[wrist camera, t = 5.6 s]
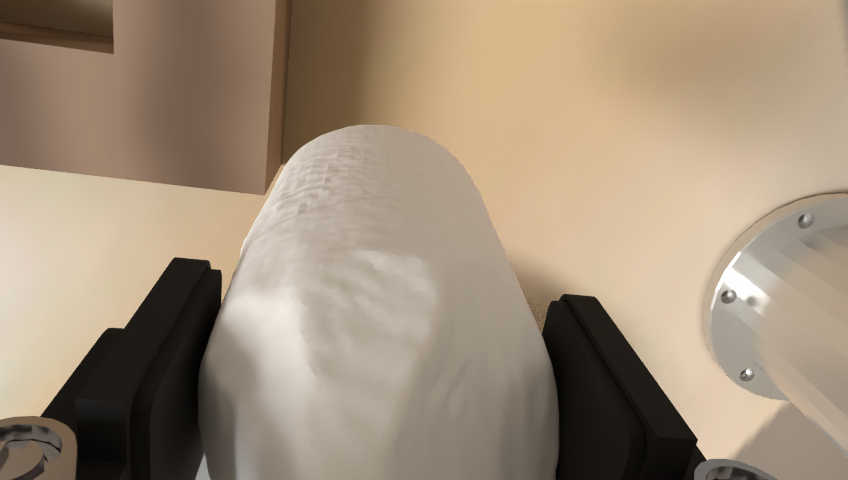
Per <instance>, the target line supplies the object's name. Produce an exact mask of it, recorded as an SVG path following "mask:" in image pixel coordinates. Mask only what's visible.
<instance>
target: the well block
mask: <svg viewBox="0 0 848 480" xmlns="http://www.w3.org/2000/svg"><path fill="white" fill-rule="evenodd" d="M112 1H113V37H114V38H113V37H106V36H99V35H92V34H85V33H77V32H70V31H63V30H56V29H49V28H42V27H34V26H27V25H20V24H13V23H6V22H0V165H8V166H17V167H25V168H34V169H42V170H51V171H60V172H68V173H77V174H85V175H94V176H103V177H111V178H120V179H128V180H137V181H146V182H154V183H163V184H171V185H180V186H189V187H197V188H206V189H214V190H223V191H232V192H240V193H249V194H257V195H265V194H266V192H267V190H268V188H269V186H270V184H271V183H272V181H273V179H274V177H275V175H276V173H277V172H278V170H279V168H280V166H281V160H282V145H283V130H284V115H285V100H286V85H287V70H288V55H289V40H290V25H291V10H292V0H112Z"/></svg>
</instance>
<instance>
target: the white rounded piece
mask: <svg viewBox="0 0 848 480" xmlns="http://www.w3.org/2000/svg"><path fill="white" fill-rule="evenodd" d="M197 394H198V425H199V428H200V432H201V439H202V443H203V449H204V453H205V457H206V462H207V468H208V474H209V477H210V480H556V468H557V465H558V460H559V446H560V439H559V429H560V425H559V408H558V394H557V387H556V381H555V377H554V372H553V368H552V363H551V360H550V358H549V355H548V352H547V349H546V346H545V343H544V340H543V337H542V334H541V332H540V329H539V327H538V325H537V323H536V320H535V318H534V316H533V314H532V312H531V309H530V307H529V305H528V303H527V300H526V298H525V296H524V294H523V292H522V289H521V287H520V285H519V282H518V280H517V277H516V275H515V272H514V270H513V268H512V266H511V263H510V261H509V259H508V257H507V254H506V252H505V250H504V248H503V246H502V244H501V242H500V240H499V238H498V235H497V233H496V230H495V228H494V226H493V224H492V222H491V220H490V218H489V215H488V212H487V209H486V207H485V205H484V203H483V200H482V198H481V195H480V193H479V190H478V189H477V188H476V186H475V185H474V183H473V181H472V179H471V177H470V175H469V174H468V172H467V171H466V169H465V168H464V167H463V166H462V165H461V164H460V162H459V161H458V160H457V158H456V157H455V156H453V155H452V154H451V153H450V152H449V151H448V150H447V149H446V148H444V147H443V146H441V145H440V144H438V143H437V142H436V141H434V140H432V139H430V138H428V137H426V136H424V135H421V134H419V133H417V132H414V131H411V130H408V129H403V128H400V127H396V126H391V125H366V124H363V125H355V126H349V127H345V128H342V129H338V130H335V131H332V132H329V133H326V134H323V135H321V136H319V137H317V138H315V139H314V140H312V141H310V142H308V143H307V144H305V145H304V146H302V147H301V148H300V149H299V150H298V151H297V152H296V153H295V154H294V155H293V156H292V157H291V158H290V160H289V161H288V162H287V164H286V165H285V167H284V169H283V171H282V173H281V174H280V176H279V178H278V180H277V181H276V184H275V186H274V188H273V190H272V192H271V194H270V196H269V198H268V199H267V201H266V203H265V204H264V206H263V208H262V210H261V211H260V213H259V215H258V217H257V218H256V220H255V222H254V224H253V226H252V228H251V229H250V231H249V233H248V235H247V237H246V238H245V240H244V242H243V246H242V248H241V252H240V257H239V260H238V263H237V266H236V269H235V271H234V273H233V277H232V280H231V283H230V286H229V288H228V290H227V293H226V295H225V297H224V300H223V302H222V305H221V308H220V310H219V313H218V315H217V318H216V320H215V324H214V327H213V329H212V332H211V334H210V337H209V340H208V344H207V347H206V350H205V352H204V355H203V358H202V361H201V364H200V370H199V378H198V390H197Z"/></svg>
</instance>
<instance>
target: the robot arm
mask: <svg viewBox="0 0 848 480" xmlns="http://www.w3.org/2000/svg"><path fill="white" fill-rule="evenodd" d="M221 290H222V274H221V270H215V269H211V266H210V262H209V261H208V260H198V259H187V258H176V257H175V258H174V259H173V260H172V261H171V262H170V264H169V265H168V267H167V268H166V270H165V271H164V272H163V274H162V275H161V277H160V278H159V280H158V281H157V282H156V284H155V285H154V287H153V288H152V290H151V291H150V292H149V294H148V295H147V297H146V298H145V300H144V301H143V302H142V304H141V305H140V307H139V308H138V310H137V311H136V313H135V314H134V315H133V317H132V318H131V320H130V321H129V323H128V324H127V325H126V327H125V328H124V329H122V328H108V329H107V330H106V331H105V332H104V333H103V334H102V335H101V336H100V338H99V339H98V340H97V342H96V343H95V344H94V346H93V347H92V348H91V350H90V351H89V352H88V354H87V355H86V356H85V358H84V359H83V360H82V362H81V363H80V364H79V366H78V367H77V368H76V370H75V371H74V372H73V374H72V375H71V376H70V378H69V379H68V380H67V382H66V383H65V384H64V386H63V387H62V388H61V390H60V391H59V392H58V394H57V395H56V396H55V398H54V399H53V400H52V402H51V403H50V404H49V406H48V407H47V408H46V410H45V411H44V412H43V414H42V415H41V416H40V417H37V416H25V417H11V418H6V419H2V420H0V480H195V479H196V476H197V473H198V470H199V467H200V464H201V461H202V459H203V456H204V449H203V443H202V439H201V432H200V428H199V425H198V394H197V390H198V378H199V370H200V364H201V361H202V358H203V355H204V352H205V350H206V347H207V344H208V340H209V337H210V334H211V332H212V329H213V327H214V324H215V320H216V318H217V315H218V313H219V310H220V308H221ZM702 330H703V334H704V338H705V342H706V345H707V348H708V350H709V352H710V353H711V355H712V357H713V359H714V361H715V362H716V363H717V364H718V365H719V367H720V368H721V369H722V370H723V371H724V373H725V374H726V375H727V376H728V377H729V378H730V379H731V380H732V381H734V382H735V383H736V384H737V385H738V386H740V387H742V388H744V389H746V390H748V391H749V392H751V393H753V394H756V395H759V396H763V397H766V398H770V399H776V400H787V401H791V402H792V403H793V404H794V405H795V406H796V407H797V408H798V409H799V410H800V411H801V412H802V413H804V415H806V417H807V418H808V419H809V420H810V421H811V422H812V423H813V424H814V425H815V426H816V427H817V428H818V429H819V430H820V431H821V432H822V433H823V434H824V435H825V436H826V437H827V438H828V439H829V440H830V441H831V442H832V443H833V444H834V445H835V446H836V447H837V448H838V449H839V450H840V451H841V452H842V453H843V454H844V455H845V456H846V457H847V458H848V194H845V193H839V194H824V195H818V196H814V197H810V198H806V199H801V200H798V201H796V202H793V203H791V204H789V205H786V206H784V207H782V208H779V209H777V210H775V211H774V212H772V213H771V214H769V215H767V216H766V217H764V218H763V219H761V220H759V221H758V222H756V223H755V224H754V225H753V226H752V227H751V228H749V229H748V230H747V231H746V232H745V233H744V234H742V235H741V236H740V237H739V238H738V239H737V240H736V242H735V243H734V244H733V245H732V246H731V247H730V249H729V250H728V251H727V252H726V253H725V255H724V256H723V258H722V259H721V261H720V263H719V264H718V266H717V268H716V269H715V271H714V273H713V275H712V277H711V280H710V282H709V285H708V288H707V290H706V293H705V298H704V303H703V309H702ZM542 337H543V340H544V343H545V346H546V349H547V352H548V355H549V358H550V360H551V363H552V368H553V372H554V377H555V381H556V387H557V394H558V408H559V425H560V429H559V439H560V446H559V460H558V465H557V468H556V480H777V479H776V478H775V477H773V476H771V475H769V474H768V473H765V472H764V471H762V470H760V469H758V468H756V467H753V466H750V465H748V464H745V463H742V462H739V461H733V460H728V459H710V460H706V458H705V457H704V456H703V454H702V453H701V451H700V450H699V448H698V447H697V446H696V443H697V441H698V439H697V438H696V436H695V435H694V434H693V432H692V431H691V429H690V428H689V427H688V425H687V424H686V422H685V421H684V420H683V418H682V417H681V415H680V414H679V413H678V411H677V410H676V408H675V407H674V406H673V404H672V403H671V401H670V400H669V399H668V397H667V396H666V394H665V393H664V392H663V390H662V389H661V387H660V386H659V385H658V383H657V382H656V380H655V379H654V378H653V376H652V375H651V374H650V372H649V371H648V369H647V368H646V367H645V365H644V364H643V362H642V361H641V360H640V358H639V357H638V355H637V354H636V353H635V351H634V350H633V348H632V347H631V346H630V344H629V343H628V341H627V340H626V339H625V337H624V336H623V334H622V333H621V332H620V330H619V329H618V327H617V326H616V325H615V323H614V322H613V320H612V319H611V318H610V316H609V315H608V314H607V312H606V311H605V309H604V308H603V307H602V305H601V304H600V302H599V301H598V300H597V298H595V297H592V296H581V295H571V294H563V295H562V296H561V298H560V300H559V301H552V302H551V303H550V305H549V308H548V311H547V316H546V320H545V324H544V328H543V332H542Z"/></svg>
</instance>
